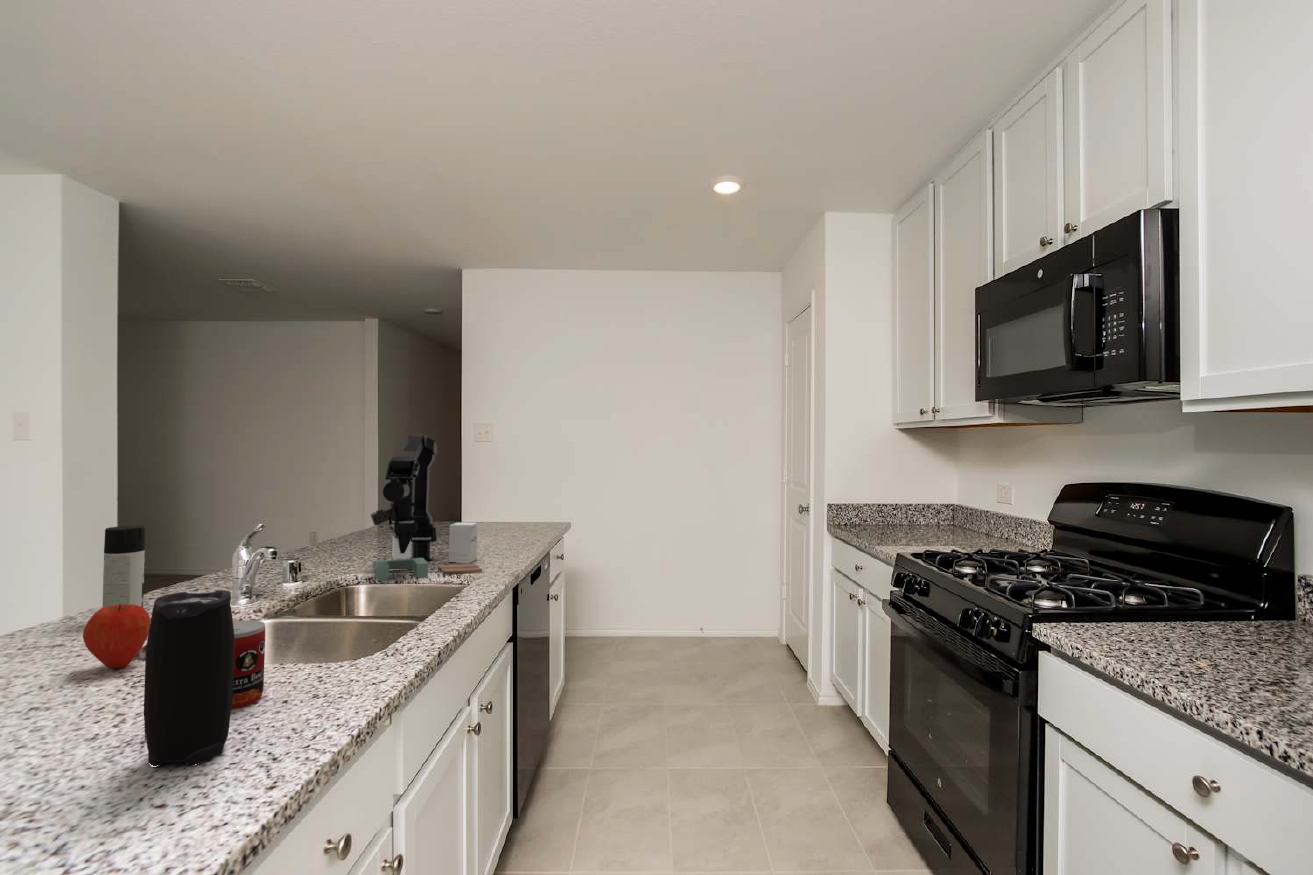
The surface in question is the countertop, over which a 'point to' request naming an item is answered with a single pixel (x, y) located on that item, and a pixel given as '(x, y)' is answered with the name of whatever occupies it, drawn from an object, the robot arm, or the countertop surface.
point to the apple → (117, 634)
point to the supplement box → (463, 542)
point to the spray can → (124, 566)
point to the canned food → (248, 662)
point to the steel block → (396, 550)
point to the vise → (398, 567)
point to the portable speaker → (189, 677)
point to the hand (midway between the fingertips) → (401, 552)
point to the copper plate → (460, 568)
